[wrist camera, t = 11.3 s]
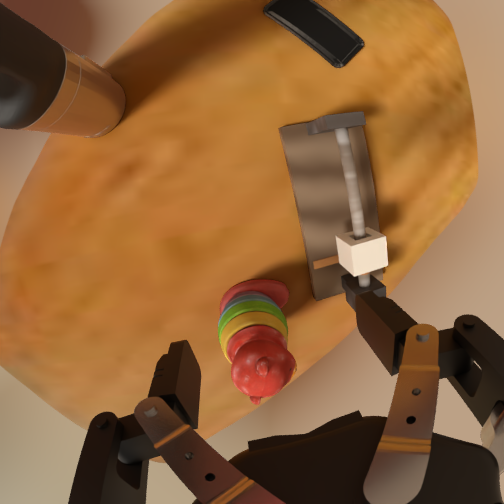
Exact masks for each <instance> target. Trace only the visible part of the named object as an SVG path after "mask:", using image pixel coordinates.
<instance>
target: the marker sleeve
mask: <svg viewBox="0 0 504 504" xmlns="http://www.w3.org/2000/svg"><path fill="white" fill-rule="evenodd" d="M365 230H366V238H364V239H360V240H354V233H353V231H351V232H347V233H344V234H340V235H336V242H337V249H338V256H339V263H340V264H341V265H342V266H343V267H344V268H345V269H346V270H347V271H349V272H350V273H351V274H352V275H353V276H354V277H355V276H358V275H361V274H364V273H367V272H371V271H374V270H377V269H380V268H383V267H386V266H388V257H387V242H386V236H385V235H383V234H381V233H379V232H377V231H375V230H373V229H371V228H369V227H366V228H365Z"/></svg>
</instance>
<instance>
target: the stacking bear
mask: <svg viewBox="0 0 504 504" xmlns="http://www.w3.org/2000/svg"><path fill="white" fill-rule="evenodd" d="M288 296H289V290H288V289H287V287H286V285H285V284H284V283H282V282H279V281H275V280H267V279H259V280H251V281H246V282H243V283H240V284H238V285H235V286H234V287H232V288H231V289H229V290H228V291H227V292H226V293H225V295H224V296H223V298H222V300H221V303H220V315H221V316H220V319H219V323H218V336H219V341H220V344H221V347H222V350H223V352H224V355H225V357H226V358H227V360H228V361H229V362H230V363H231V364H232V368H231V377H232V380H233V382H234V384H235V386H236V387H237V388H238V389H239V390H240V391H241V392H243V393H244V394H246V395H248V396H250V400H251V402H252V403H254V404H256V405H258V404H260V400H261V398H265V397H270V396H273V395H275V394H277V393H278V392H279V391H280V390H281V389H282V388H283V387H284V386H285V385H286V384H287V383H288V382H289V381H290V380H291V378H292V377H293V376H294V374H295V372H296V369H297V368H296V367H297V365H296V361H295V359H294V357H293V356H292V354H291V353H290V352H289V351H288V350H287V344H288V326H287V321H286V319H285V317H284V314H283V313H282V311H281V308H282V307H283V306H284V305H285V304H286V302H287V301H288Z"/></svg>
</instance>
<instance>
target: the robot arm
mask: <svg viewBox="0 0 504 504" xmlns="http://www.w3.org/2000/svg"><path fill="white" fill-rule="evenodd" d="M125 105H126V97H125V93H124V90H123V88H122V87H121V86H120V85H119V83H117V82H116V81H114V80H113V79H112V75H111V74H110V73H109V72H107V71H106V70H105V69H103V68H102V67H100V66H99V65H98V64H96V63H95V62H93V61H92V60H91V59H89V58H88V57H86V56H85V55H82V56H78V55H77V54H75V53H74V52H72V51H70V50H69V49H67V48H66V47H64V46H62V45H61V44H59V43H58V42H56V41H55V40H53V39H51V38H50V37H49V36H47V35H46V34H45V33H43V32H42V31H41V30H40V29H38V28H37V27H35V26H34V25H32V24H31V23H29V22H28V21H26V20H24V19H23V18H21V17H20V16H18V15H17V14H15V13H14V12H13V11H11V10H10V9H8V8H7V7H5V6H4V5H3V4H1V3H0V127H1V128H5V129H17V130H29V131H41V132H50V133H59V134H67V135H74V136H82V137H89V138H96V137H100V136H103V135H105V134H107V133H108V132H110V131H111V130H112V129H113V128H114V127H115V126H116V125H117V124H118V123H119V121H120V119H121V118H122V115H123V113H124V110H125ZM355 305H356V319H357V326H358V329H359V332H360V333H361V335H362V336H363V338H364V339H365V340H366V341H367V343H368V344H369V346H370V347H371V349H372V350H373V351H374V353H375V354H376V355H377V357H378V358H379V359H380V361H381V362H382V364H383V365H384V366H385V368H386V369H387V370H388V372H389V373H390V375H391V376H393V375H395V374H397V373H399V374H398V378H397V383H396V387H395V391H394V396H393V399H392V403H391V407H390V411H389V414H388V417H381V416H365V417H362V415H361V413H360V412H359V410H358V411H355V412H353V413H350V414H347V415H345V416H341V417H339V418H336V419H333V420H331V421H329V422H327V423H326V424H324V425H322V426H320V427H318V428H316V429H315V430H313V431H311V432H309V433H306V434H298V435H279V436H271V437H267V438H262V439H257V440H252V441H248V447H249V449H247V450H245V451H243V452H241V453H239V454H237V455H236V456H234V457H233V458H232V459H230V460H229V461H227V460H226V459H225V458H223V457H222V456H221V455H220V454H219V453H218V452H217V451H216V450H214V449H213V448H212V447H211V446H210V445H209V444H208V443H207V442H206V441H205V440H204V439H203V438H202V437H201V436H200V435H199V434H198V433H196V432H195V431H194V430H193V429H198V415H199V399H200V385H201V371H200V367H199V364H198V362H197V360H196V358H195V355H194V353H193V351H192V349H191V347H190V344H189V342H188V341H187V340H182V341H177V342H172V343H171V344H170V347H169V351H168V354H164V355H163V356H162V357H161V358H160V359H159V361H158V362H157V365H156V369H155V372H154V378H153V379H152V383H151V387H150V391H149V394H148V398H146V399H144V400H142V401H141V402H140V403H138V405H137V406H136V407H135V410H134V413H133V414H131V415H128V416H125V417H122V418H117V416H116V415H115V414H114V413H112V412H102V413H100V414H98V415H97V416H95V417H94V418H93V419H92V421H91V423H90V425H89V429H88V432H87V435H86V438H85V441H84V445H83V448H82V451H81V455H80V458H79V462H78V465H77V469H76V473H75V477H74V481H73V485H72V489H71V493H70V498H69V502H68V504H146V489H147V477H148V476H147V475H148V466H149V459H151V458H154V457H157V456H160V455H161V456H162V458H163V459H164V460H165V462H166V463H167V464H168V465H169V466H170V468H171V469H172V470H173V471H174V473H175V474H176V475H177V476H178V477H179V479H180V480H181V481H182V482H183V483H184V484H185V486H186V487H187V488H188V489H189V490H190V491H191V492H192V493H193V494H194V495H195V496H196V498H197V499H196V500H195V501H194V502H193V503H192V504H504V503H503V501H502V497H501V492H500V482H499V479H500V477H499V476H500V474H502V473H503V472H504V340H503V338H501V337H500V336H499V335H498V334H497V333H496V332H495V331H494V330H492V329H491V328H490V327H489V326H488V325H487V324H486V323H484V322H483V321H482V320H481V319H480V318H478V317H476V316H474V315H462V316H460V317H458V318H457V319H456V320H455V322H454V327H453V328H450V329H445V330H440V331H438V330H437V329H436V328H435V327H433V326H432V325H428V324H418V323H417V322H416V321H414V320H413V319H412V318H411V317H410V316H409V315H408V314H407V313H406V312H405V311H403V310H402V308H400V307H399V306H398V305H397V304H396V303H395V302H394V301H393V300H391V299H389V298H386V297H384V296H382V297H378V296H377V295H376V294H375V293H374V292H373V291H372V290H368V291H365V292H362V293H359V294H356V296H355ZM474 361H476V363H477V364H478V365H479V366H480V367H481V369H480V368H479V367H478V366H477V365H476V364H475V363H474ZM442 378H447V379H448V380H449V382H450V383H451V384H452V386H453V387H454V388H455V390H456V391H457V392H458V394H459V395H460V396H461V398H462V399H463V400H464V402H465V403H466V404H467V406H468V407H469V408H470V410H471V411H472V413H473V414H474V416H475V417H476V418H477V420H478V421H479V423H480V424H481V426H482V430H481V440H482V446H481V445H477V444H473V443H469V442H465V441H462V440H458V439H454V438H451V437H447V436H444V435H440V434H437V433H433V426H434V420H435V413H436V405H437V395H438V386H439V379H442Z"/></svg>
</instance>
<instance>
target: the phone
mask: <svg viewBox="0 0 504 504" xmlns="http://www.w3.org/2000/svg"><path fill="white" fill-rule="evenodd" d="M263 11H264V14H265V15H266V16H268V17H269V18H271V19H272V20H274V21H275V22H277V23H278V24H280V25H281V26H283V27H284V28H286V29H287V30H288V31H290V32H291V33H292V34H294V35H295V36H297V37H298V38H299V39H301V40H302V41H303V42H304V43H306V44H307V45H308V46H310V47H311V48H312V49H313V50H315V51H316V52H317V53H318V54H320V55H321V56H322V57H323V58H324V59H325V60H327V61H328V62H329V63H330V64H331V65H332V66H334V67H336V68H341V67H343V66H344V65H345V64H346V63H347V62H348V61H349V60H350V59H351V58H352V57H353V56H354V55H355V54H356V53H357V52H358V51H359V50H360V49H361V48H362V47H363V46H364V42H363V40H362V39H361V38H360V37H359V36H358V35H356V34H355V33H354V32H353V31H352V30H351V29H349V28H348V27H347V26H346V25H345V24H343V23H342V22H341V21H340V20H339V19H337V18H336V17H335V16H333V15H332V14H331V13H330V12H328V11H327V10H326V9H324V8H323V7H322V6H320V5H319V4H317V3H316V2H315V1H313V0H272V1H271V2H270V3H268V4H267V5H266V6H265V7H264V10H263Z"/></svg>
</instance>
